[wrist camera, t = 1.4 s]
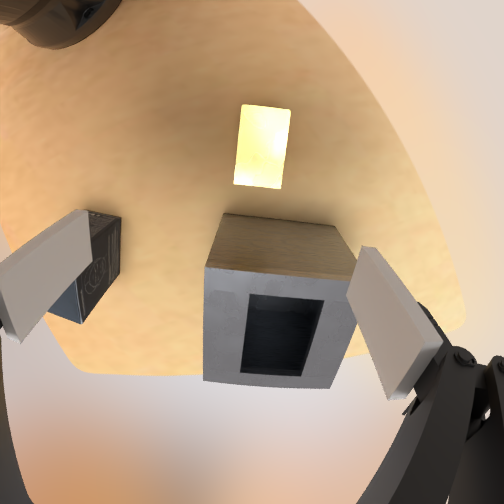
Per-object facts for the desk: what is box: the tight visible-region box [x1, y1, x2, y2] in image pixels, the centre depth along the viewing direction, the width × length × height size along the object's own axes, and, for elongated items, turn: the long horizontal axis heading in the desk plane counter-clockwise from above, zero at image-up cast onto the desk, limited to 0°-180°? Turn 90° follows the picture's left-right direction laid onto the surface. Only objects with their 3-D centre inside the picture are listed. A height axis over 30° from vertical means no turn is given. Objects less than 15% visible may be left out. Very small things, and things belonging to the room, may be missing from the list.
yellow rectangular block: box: [234, 104, 291, 189], centre depth 24 cm, size 6×4×8 cm, turn 174°
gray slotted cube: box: [203, 214, 357, 389], centre depth 28 cm, size 12×12×12 cm
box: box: [48, 210, 121, 324], centre depth 28 cm, size 8×6×11 cm
